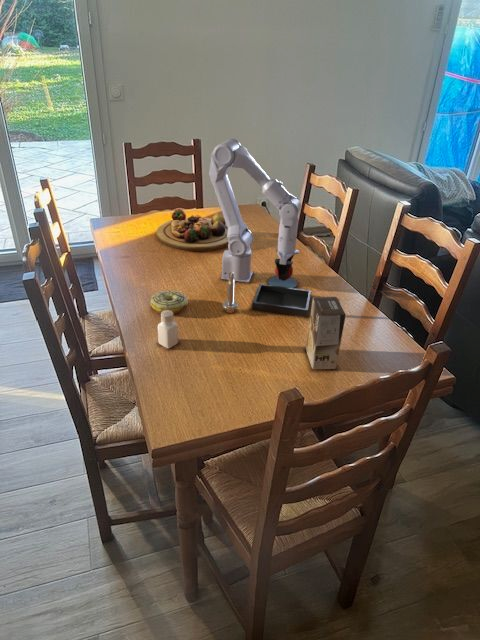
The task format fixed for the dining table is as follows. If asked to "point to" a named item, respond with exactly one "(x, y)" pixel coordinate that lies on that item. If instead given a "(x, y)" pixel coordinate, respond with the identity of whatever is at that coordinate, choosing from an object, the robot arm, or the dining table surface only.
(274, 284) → the mat
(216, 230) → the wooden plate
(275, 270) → the onion
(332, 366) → the coffee box
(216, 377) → the dining table surface
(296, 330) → the dining table surface
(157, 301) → the decorated donut
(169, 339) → the salt shaker
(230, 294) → the screw
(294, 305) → the tray
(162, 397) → the dining table surface
